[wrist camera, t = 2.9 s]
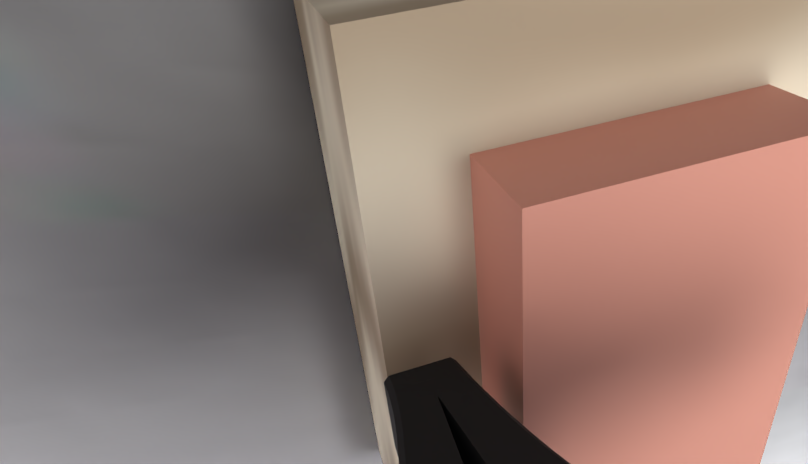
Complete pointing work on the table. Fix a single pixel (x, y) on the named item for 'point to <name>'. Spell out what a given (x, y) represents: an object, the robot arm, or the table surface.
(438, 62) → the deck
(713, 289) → the salmon pink block
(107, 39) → the table surface
